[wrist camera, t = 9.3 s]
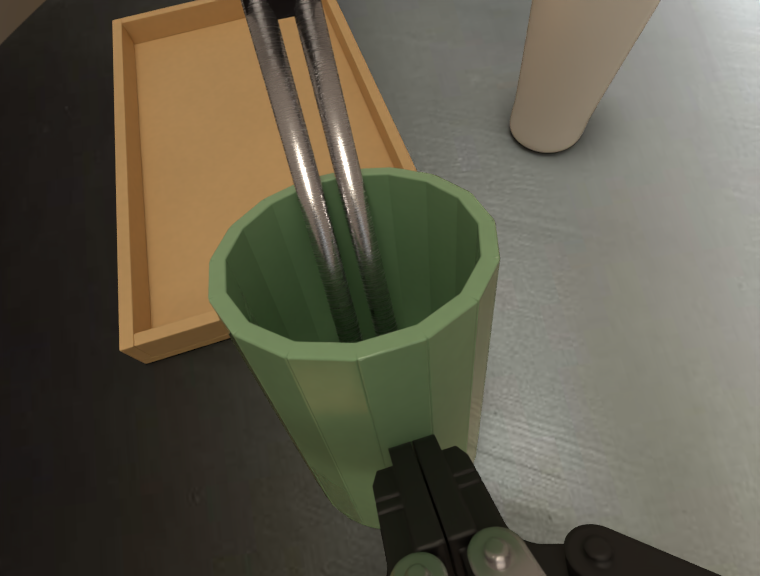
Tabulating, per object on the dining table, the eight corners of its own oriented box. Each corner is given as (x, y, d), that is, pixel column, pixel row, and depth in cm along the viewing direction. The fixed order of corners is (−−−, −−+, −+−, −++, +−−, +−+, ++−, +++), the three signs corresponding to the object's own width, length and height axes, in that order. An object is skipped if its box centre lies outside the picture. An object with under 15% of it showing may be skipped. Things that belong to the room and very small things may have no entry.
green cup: (329, 557, 18) (203, 406, 9) (302, 396, 23) (209, 202, 14) (505, 494, 19) (562, 297, 10) (437, 354, 24) (433, 147, 15)
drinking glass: (609, 141, 31) (765, -132, 17) (534, 177, 30) (639, -84, 16) (551, 89, 34) (646, -181, 20) (480, 120, 32) (532, -143, 19)
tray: (145, 364, 25) (119, 351, 23) (129, 48, 40) (112, 20, 37) (450, 270, 27) (454, 249, 24) (327, 0, 41) (322, -30, 39)
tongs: (387, 507, 18) (245, 43, 6) (346, 358, 25) (234, -21, 12) (435, 490, 19) (400, 12, 6) (383, 347, 25) (311, -35, 12)
